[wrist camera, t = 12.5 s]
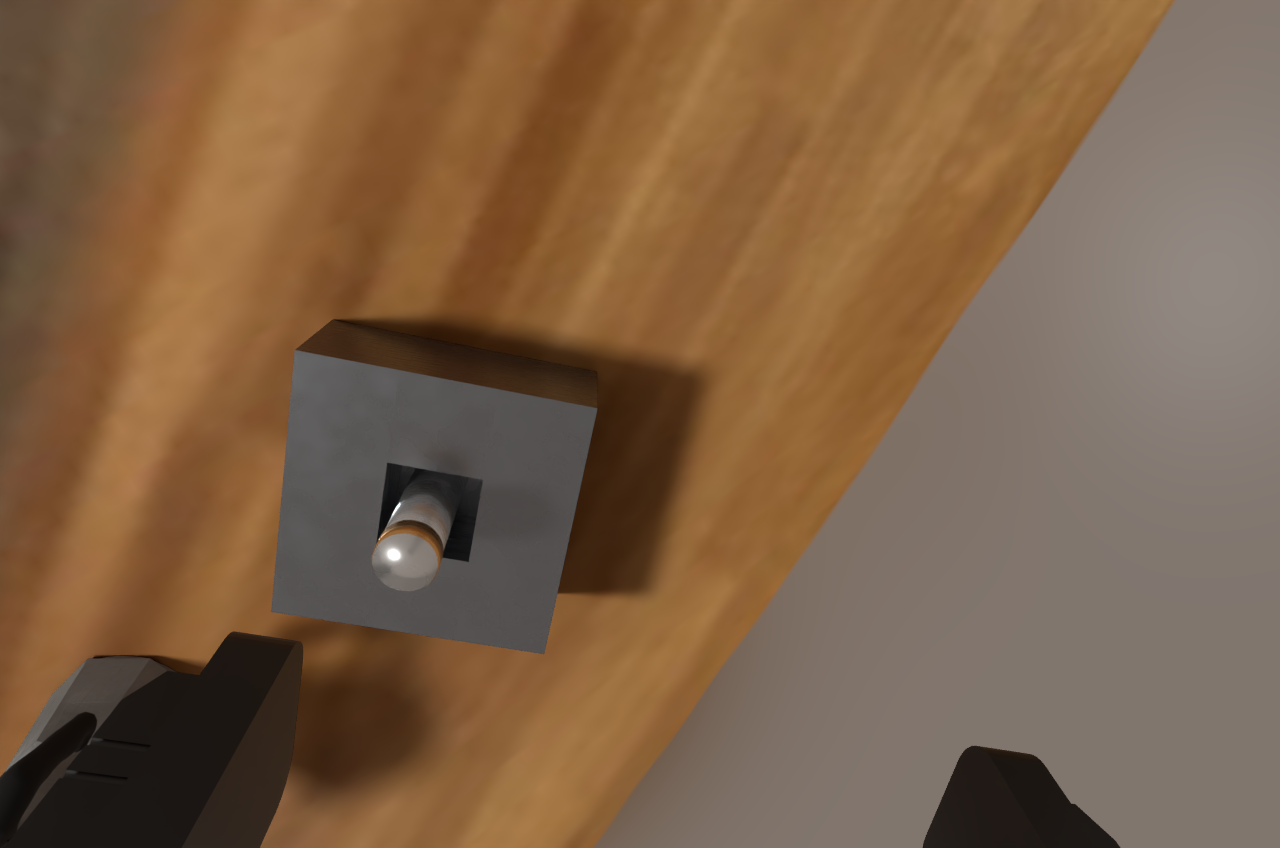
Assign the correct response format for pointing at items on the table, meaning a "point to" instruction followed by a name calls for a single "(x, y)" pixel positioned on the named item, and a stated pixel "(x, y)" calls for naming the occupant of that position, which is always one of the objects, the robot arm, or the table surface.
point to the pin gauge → (418, 530)
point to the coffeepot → (67, 731)
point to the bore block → (438, 441)
